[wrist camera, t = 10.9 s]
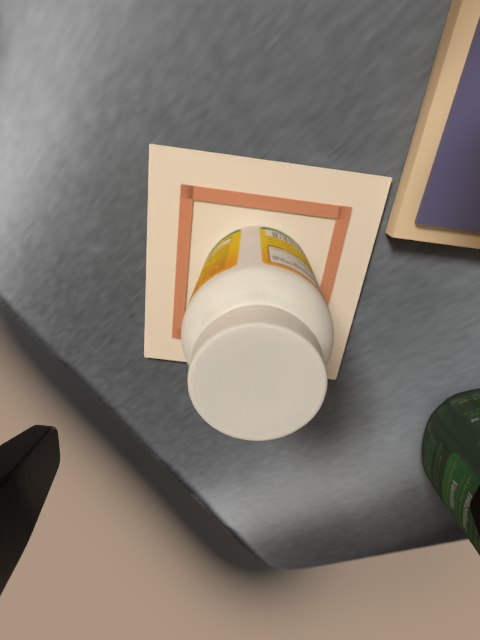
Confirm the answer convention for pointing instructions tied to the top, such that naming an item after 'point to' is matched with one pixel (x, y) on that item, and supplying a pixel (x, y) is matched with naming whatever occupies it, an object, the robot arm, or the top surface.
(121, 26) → the top surface
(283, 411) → the supplement bottle
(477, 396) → the coffee jar
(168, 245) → the print card
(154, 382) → the top surface
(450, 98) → the ink pad
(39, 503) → the robot arm
